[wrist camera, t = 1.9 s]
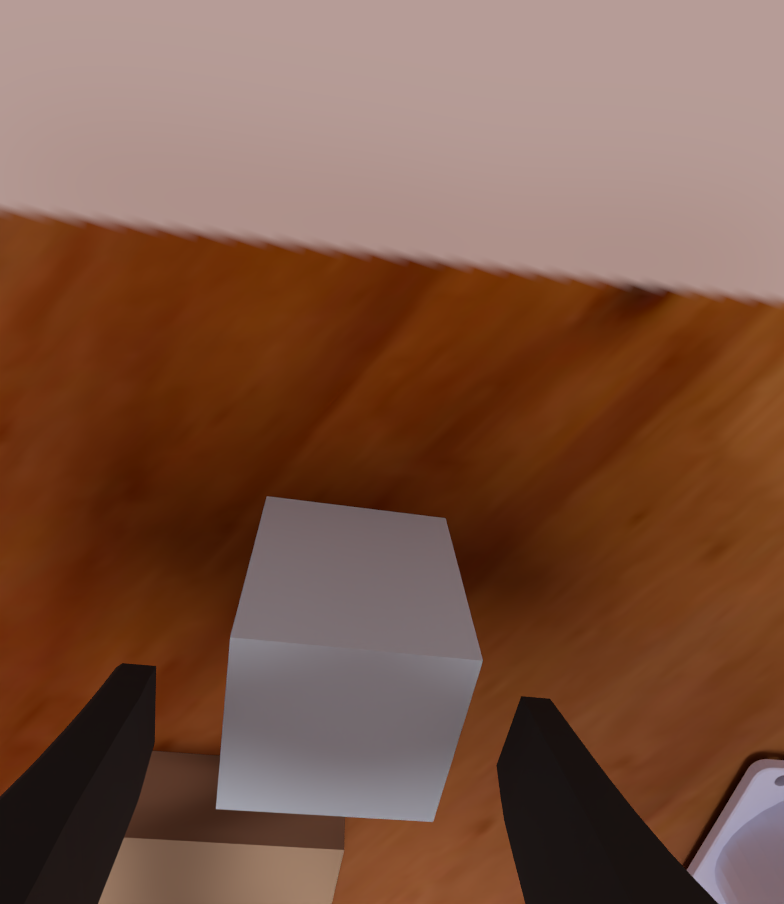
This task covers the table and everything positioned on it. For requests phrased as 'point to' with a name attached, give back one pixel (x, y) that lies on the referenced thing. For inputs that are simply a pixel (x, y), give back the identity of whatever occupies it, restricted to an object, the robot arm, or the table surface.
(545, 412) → the table surface
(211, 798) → the tan square block
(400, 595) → the light grey block
